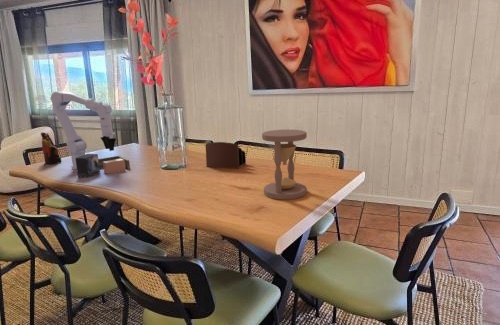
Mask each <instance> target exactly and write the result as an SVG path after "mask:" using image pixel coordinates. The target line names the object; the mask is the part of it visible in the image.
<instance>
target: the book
mask: <svg viewBox="0 0 500 325" xmlns="http://www.w3.org/2000/svg"><path fill="white" fill-rule="evenodd" d="M102 168H103V172H104V173H105V174H106V173H109V174H113V173H112V172H114V173H119V172H124V171H126V168H125V163H124V160H123V159H116V160H110V161H104V162H103V167H102Z"/></svg>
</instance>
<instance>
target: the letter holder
mask: <svg viewBox="0 0 500 325" xmlns="http://www.w3.org/2000/svg"><path fill="white" fill-rule="evenodd" d="M205 157H206V158H205V159H206V160H205V161H206V162H205V163H206V167H207V168H210V167H211V168H221V169H238V170H239V169H241V168H242V167H244V166H245V165H246V164H247V163H246V161H247V160H246V152H245V150H243V149H242V148H241V147H239V145H238V144H237V143H234V142H233V143H232V142H225V141H224V142H223V141H220V142H219V141H216V142H215V141H214V142H208V143H207V142H206V143H205Z"/></svg>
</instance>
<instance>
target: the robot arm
mask: <svg viewBox="0 0 500 325" xmlns="http://www.w3.org/2000/svg"><path fill="white" fill-rule="evenodd" d="M49 99H50V100H51V103H52V110H53V112H54V114H55V116H56V119H57V120H58V122H59V125H60V126H61V128H62V130H63V132H64V135H65V136H66V138H67V140H66V141H65V144H66V148H67V149H66V150H67V151H68V153H70V155H71V158H70V159H71V163H72V165H71V166H70V167H71V168H72V169H73V170H75V171H77V166H76V159H75V158H76V157H80V156H83V155H86V150H87V142H85V141H84V139H83V138H82V136H80V135H79V134H78V133H77V131H76V129H75V127H74V125H73V122H72V121H71V120H70V117H69V115H68V113H67V111H66V108H67V106H68V105H69V104H70V103H71V102H74V103H77V104H81V105H83V106H84V107H85V109H88V110H90V111H93V112H96V114H97V115H98V118H99V123H100V130H101V137H100V138H99V139H101V141H102V143H103V146H104V147H105V150H109V152H112V151H114V150H115V143H116V140H117V138H116V137H114V135H116V133H115V132H114V131H113V123H112V116H111V112H112V110H113V109H112V107H111V105H110V104H108V103H103V101H97V100H95V98H93V97H92V98H88V99H86V98H84V97H83V96H80V95H78V94H75V93H73V92H71V91H69V90H63V91H53V93H51V95H50V98H49Z"/></svg>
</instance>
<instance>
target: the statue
mask: <svg viewBox="0 0 500 325" xmlns="http://www.w3.org/2000/svg"><path fill="white" fill-rule="evenodd" d="M40 136H41V137H42V138H41V146H42V153H43V157H44V158H43V159H44V163H45V164H47V165H55V164H60V163H62V158H61V157H60V155H59V149H58V147H57V146H56V145H55V144H54V141H53V140H52V138H51V137H50V135H49V133H48V132H43V131H42V132H40Z"/></svg>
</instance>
